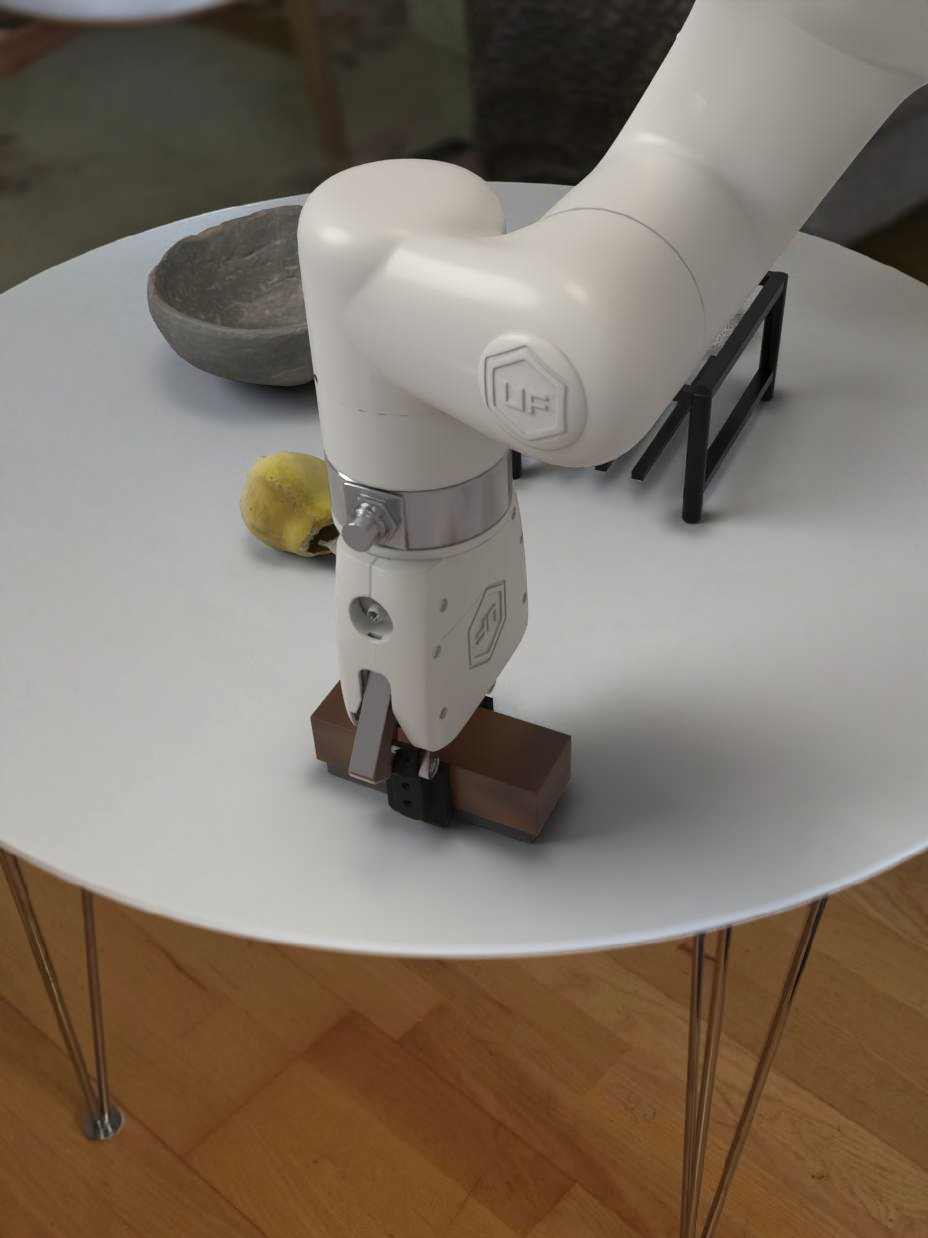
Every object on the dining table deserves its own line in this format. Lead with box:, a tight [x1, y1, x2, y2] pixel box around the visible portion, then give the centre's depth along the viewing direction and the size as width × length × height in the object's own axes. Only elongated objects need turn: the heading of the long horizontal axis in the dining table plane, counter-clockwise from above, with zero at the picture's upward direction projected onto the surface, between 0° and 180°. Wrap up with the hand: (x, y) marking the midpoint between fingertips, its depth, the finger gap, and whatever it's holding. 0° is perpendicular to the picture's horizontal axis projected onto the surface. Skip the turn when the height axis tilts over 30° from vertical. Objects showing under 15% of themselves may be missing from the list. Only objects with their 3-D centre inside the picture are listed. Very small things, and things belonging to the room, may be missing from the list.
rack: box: [512, 270, 789, 524], centre depth 87 cm, size 13×16×9 cm
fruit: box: [239, 450, 340, 558], centre depth 81 cm, size 6×6×10 cm
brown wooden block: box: [309, 679, 572, 845], centre depth 66 cm, size 12×4×4 cm, turn 64°
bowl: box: [146, 204, 315, 387], centre depth 97 cm, size 18×18×8 cm
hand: (442, 778), depth 67 cm, fingers closed on brown wooden block, 4 cm apart
